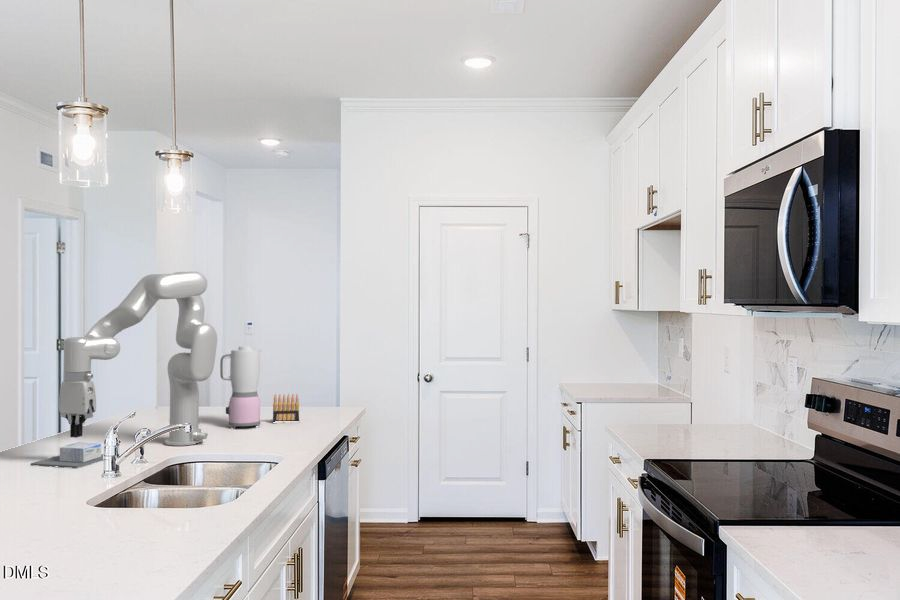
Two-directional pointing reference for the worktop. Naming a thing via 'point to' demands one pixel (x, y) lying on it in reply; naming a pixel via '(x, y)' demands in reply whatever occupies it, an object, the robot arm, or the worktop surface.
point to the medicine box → (80, 452)
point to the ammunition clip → (286, 409)
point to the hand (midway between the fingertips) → (76, 436)
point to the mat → (56, 462)
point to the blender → (243, 386)
